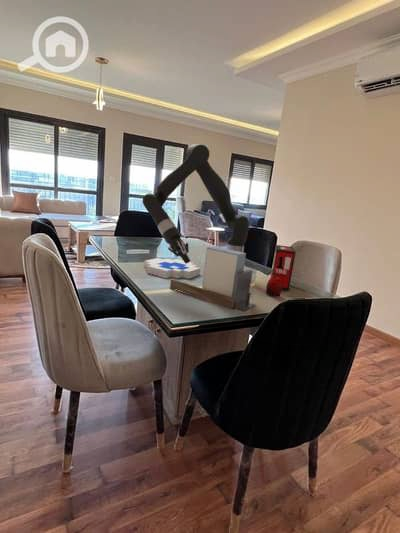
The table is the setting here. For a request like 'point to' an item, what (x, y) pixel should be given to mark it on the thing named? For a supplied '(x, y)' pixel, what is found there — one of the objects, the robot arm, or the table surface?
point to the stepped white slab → (171, 268)
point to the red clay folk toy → (274, 286)
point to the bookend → (241, 290)
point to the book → (222, 269)
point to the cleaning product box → (283, 265)
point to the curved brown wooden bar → (204, 293)
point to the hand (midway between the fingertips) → (188, 262)
